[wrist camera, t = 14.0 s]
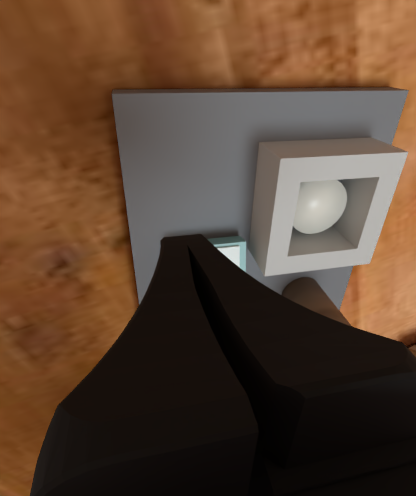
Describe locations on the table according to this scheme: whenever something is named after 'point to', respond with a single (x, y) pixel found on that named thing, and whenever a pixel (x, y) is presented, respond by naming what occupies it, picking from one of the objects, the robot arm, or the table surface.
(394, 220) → the table surface
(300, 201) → the cream smooth round part
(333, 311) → the dowel
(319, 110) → the panel
